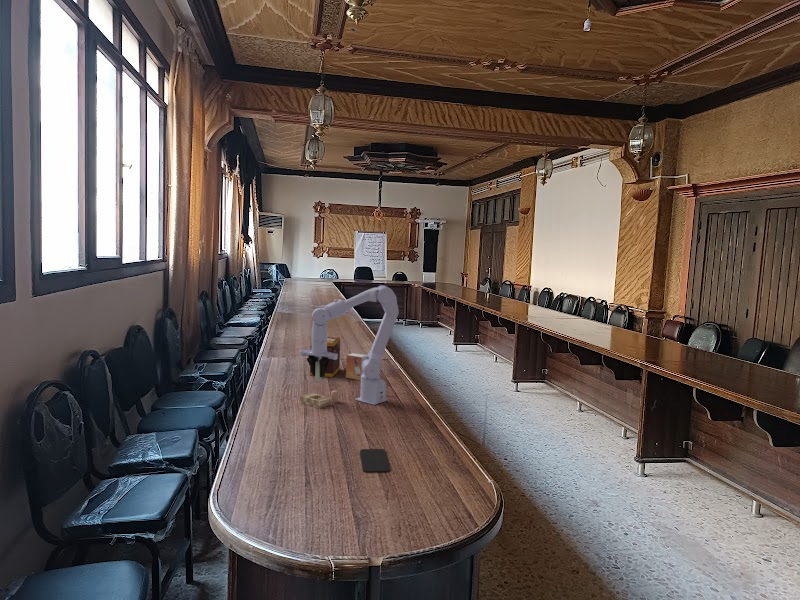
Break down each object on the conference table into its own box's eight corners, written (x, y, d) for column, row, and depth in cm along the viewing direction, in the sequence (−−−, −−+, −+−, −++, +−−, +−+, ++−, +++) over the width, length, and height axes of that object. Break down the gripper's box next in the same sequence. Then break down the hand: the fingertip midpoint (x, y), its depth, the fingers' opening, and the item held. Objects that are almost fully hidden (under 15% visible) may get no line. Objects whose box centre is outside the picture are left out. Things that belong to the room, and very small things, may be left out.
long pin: (323, 381, 204) (323, 361, 203) (319, 382, 201) (320, 363, 201) (317, 380, 205) (317, 360, 204) (313, 381, 202) (314, 362, 202)
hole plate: (331, 404, 200) (331, 398, 200) (319, 408, 195) (319, 401, 195) (311, 399, 206) (311, 392, 206) (300, 402, 201) (300, 396, 201)
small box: (345, 378, 239) (346, 354, 238) (352, 375, 244) (353, 352, 243) (360, 380, 235) (361, 357, 234) (367, 378, 240) (368, 354, 239)
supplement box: (339, 369, 255) (340, 336, 253) (332, 377, 240) (333, 342, 238) (318, 367, 256) (319, 335, 254) (309, 375, 241) (310, 341, 239)
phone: (362, 471, 143) (359, 449, 157) (362, 474, 143) (359, 451, 158) (390, 470, 144) (384, 448, 159) (390, 473, 144) (384, 451, 159)
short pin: (339, 401, 204) (339, 391, 204) (334, 403, 202) (334, 392, 202) (334, 400, 206) (334, 390, 205) (329, 401, 203) (329, 391, 203)
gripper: (341, 340, 203) (340, 376, 204) (307, 337, 208) (306, 371, 209) (333, 343, 196) (332, 380, 198) (298, 339, 201) (297, 375, 202)
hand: (318, 376), depth 203 cm, fingers closed on long pin, 3 cm apart
